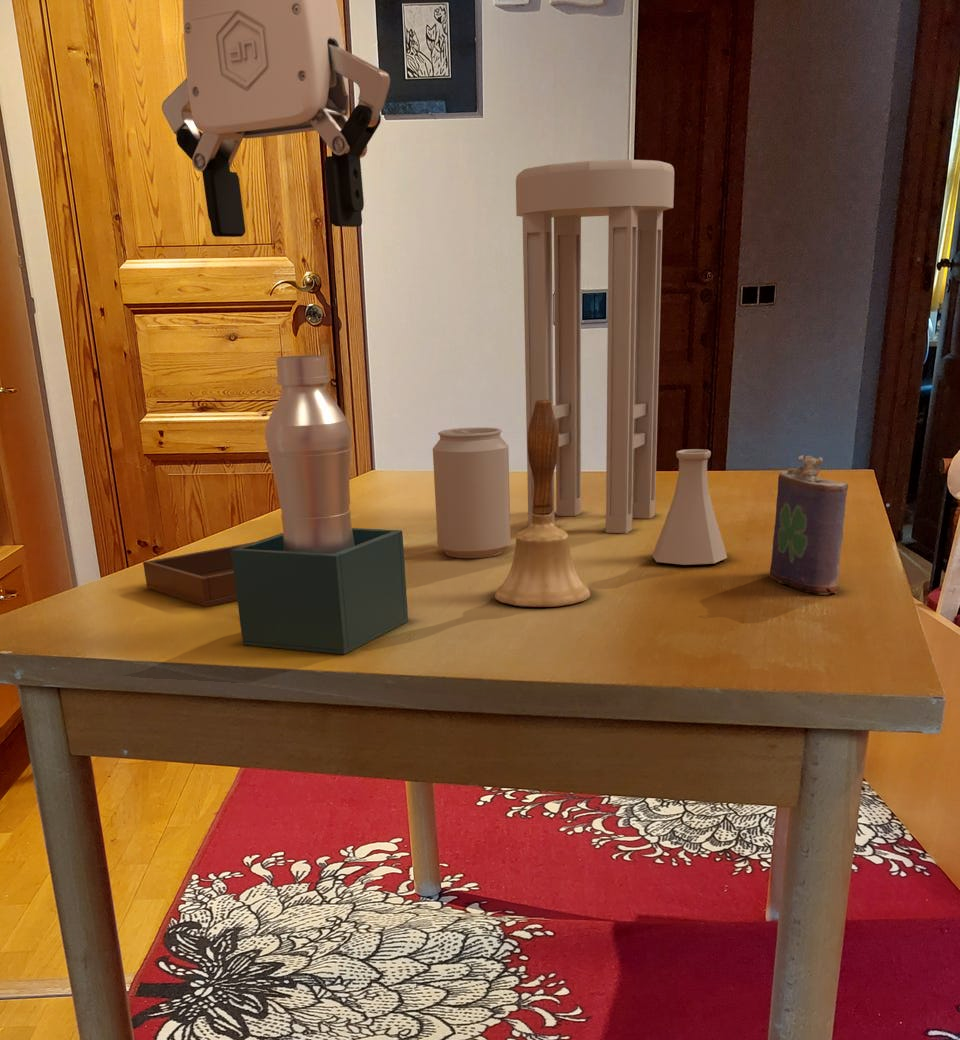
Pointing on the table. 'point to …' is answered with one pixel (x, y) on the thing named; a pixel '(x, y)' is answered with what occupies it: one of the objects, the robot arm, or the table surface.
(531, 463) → the hand bell
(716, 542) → the flask
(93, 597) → the table surface
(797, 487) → the flask
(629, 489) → the stool
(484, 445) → the can
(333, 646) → the bin
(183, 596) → the tray
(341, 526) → the metal bottle
